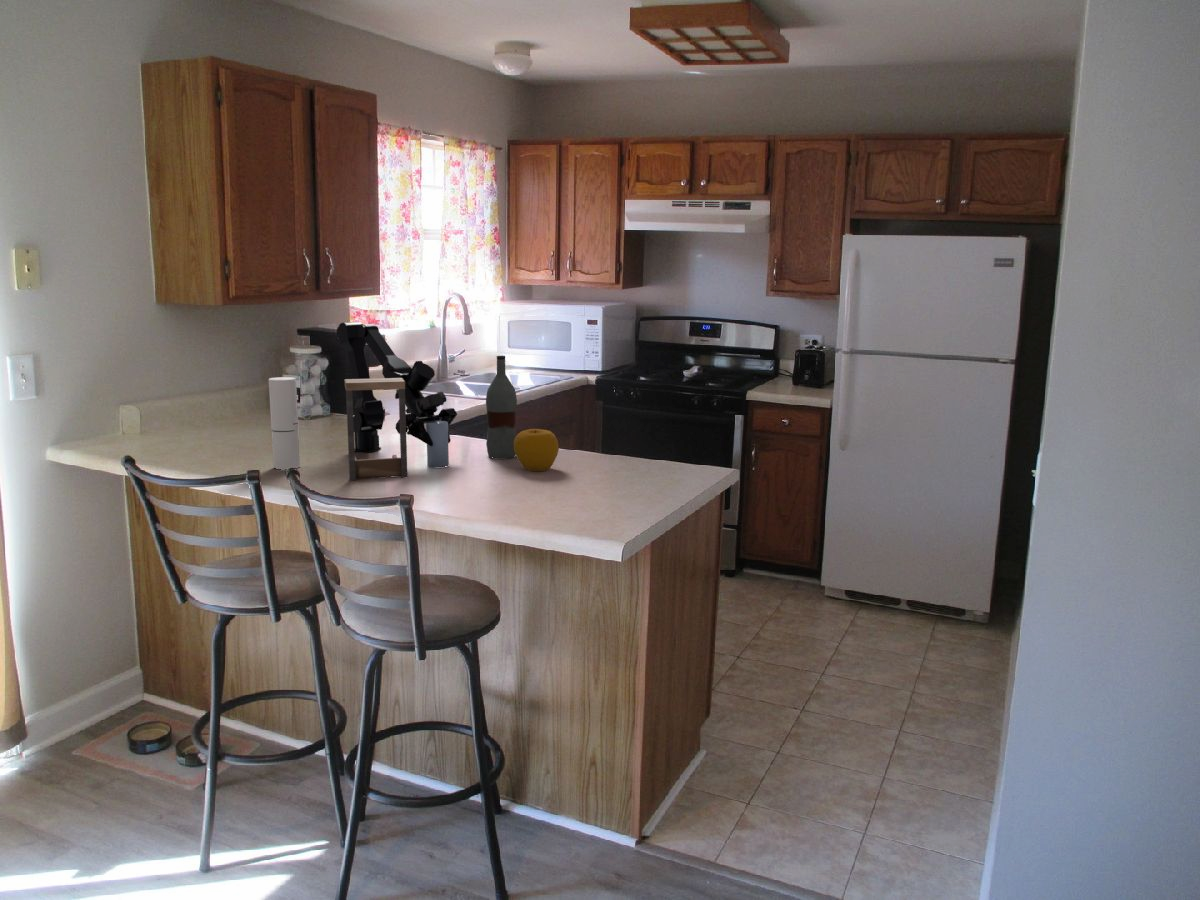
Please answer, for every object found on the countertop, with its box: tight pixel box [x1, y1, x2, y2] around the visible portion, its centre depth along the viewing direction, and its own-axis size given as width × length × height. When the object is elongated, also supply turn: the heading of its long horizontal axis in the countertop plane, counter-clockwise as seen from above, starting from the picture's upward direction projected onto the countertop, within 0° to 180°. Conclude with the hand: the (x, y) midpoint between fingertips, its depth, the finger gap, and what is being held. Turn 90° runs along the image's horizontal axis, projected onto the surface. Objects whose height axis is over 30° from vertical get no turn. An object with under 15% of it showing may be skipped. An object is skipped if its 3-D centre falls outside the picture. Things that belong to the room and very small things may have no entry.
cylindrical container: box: [268, 376, 301, 471], centre depth 268 cm, size 7×7×25 cm
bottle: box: [485, 355, 518, 459], centre depth 286 cm, size 9×9×30 cm
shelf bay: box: [344, 377, 408, 482], centre depth 261 cm, size 15×15×26 cm
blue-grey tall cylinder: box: [425, 421, 450, 468], centre depth 273 cm, size 6×6×12 cm
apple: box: [514, 428, 559, 473], centre depth 270 cm, size 13×13×11 cm
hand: (440, 443), depth 272 cm, fingers closed on blue-grey tall cylinder, 6 cm apart
